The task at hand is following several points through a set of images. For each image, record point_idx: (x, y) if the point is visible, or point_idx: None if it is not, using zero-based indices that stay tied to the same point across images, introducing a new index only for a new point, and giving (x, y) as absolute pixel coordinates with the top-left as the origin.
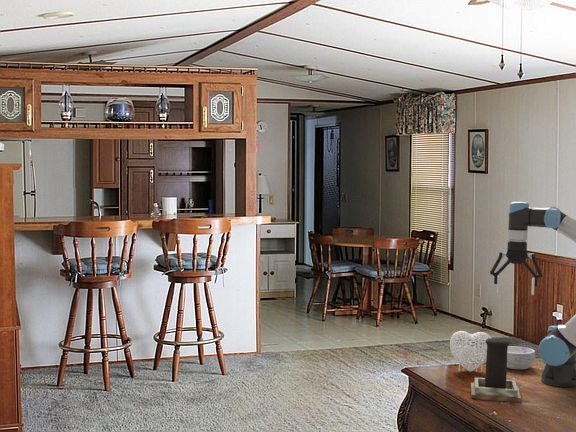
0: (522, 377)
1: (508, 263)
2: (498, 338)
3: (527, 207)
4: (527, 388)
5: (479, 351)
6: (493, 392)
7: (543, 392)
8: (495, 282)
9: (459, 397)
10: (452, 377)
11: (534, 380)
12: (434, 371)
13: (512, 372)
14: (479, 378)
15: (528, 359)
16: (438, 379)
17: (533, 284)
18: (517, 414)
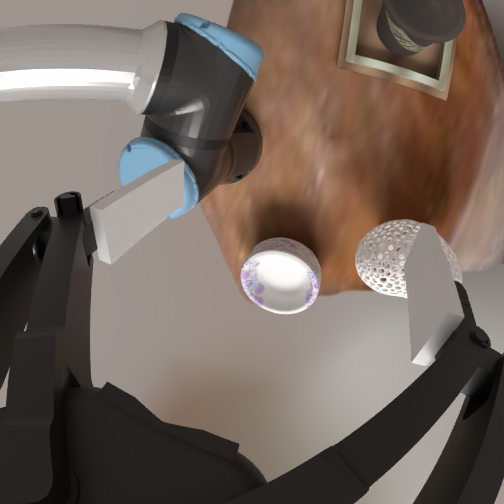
0: (297, 180)
1: (328, 464)
2: (421, 13)
3: None
4: (310, 82)
5: (379, 269)
6: None
7: (279, 53)
8: (457, 291)
9: (480, 18)
10: (461, 181)
11: (276, 155)
12: (477, 233)
13: (309, 222)
14: (435, 79)
15: (264, 244)
16: (494, 166)
17: (130, 186)
18: None
